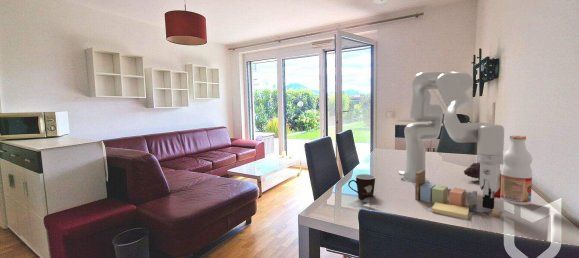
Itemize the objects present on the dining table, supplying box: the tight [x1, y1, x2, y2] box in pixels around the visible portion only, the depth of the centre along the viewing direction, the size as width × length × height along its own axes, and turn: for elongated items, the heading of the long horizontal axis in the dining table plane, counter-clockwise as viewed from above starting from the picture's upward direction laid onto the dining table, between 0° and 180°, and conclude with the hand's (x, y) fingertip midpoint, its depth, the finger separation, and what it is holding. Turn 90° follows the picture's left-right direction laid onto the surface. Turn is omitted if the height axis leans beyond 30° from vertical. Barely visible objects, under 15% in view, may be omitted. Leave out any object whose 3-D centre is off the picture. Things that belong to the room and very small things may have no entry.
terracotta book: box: [448, 187, 467, 207], centre depth 102 cm, size 4×6×6 cm, turn 134°
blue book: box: [420, 182, 437, 203], centre depth 110 cm, size 4×6×6 cm, turn 134°
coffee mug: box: [347, 173, 376, 201], centre depth 118 cm, size 12×9×10 cm
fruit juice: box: [499, 135, 533, 206], centre depth 105 cm, size 9×9×28 cm
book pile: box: [426, 202, 474, 221], centre depth 97 cm, size 13×9×3 cm
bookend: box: [468, 190, 492, 217], centre depth 97 cm, size 6×7×6 cm
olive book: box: [431, 184, 449, 204], centre depth 107 cm, size 4×6×6 cm, turn 134°
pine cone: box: [463, 161, 480, 181], centre depth 138 cm, size 18×10×10 cm, turn 89°
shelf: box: [414, 169, 503, 219], centre depth 102 cm, size 28×8×13 cm, turn 44°
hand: (488, 207), depth 95 cm, fingers closed
